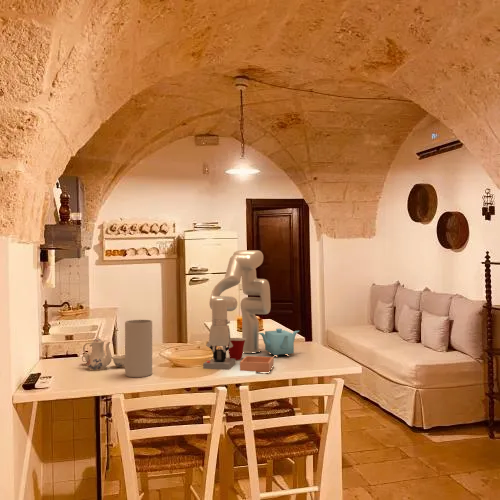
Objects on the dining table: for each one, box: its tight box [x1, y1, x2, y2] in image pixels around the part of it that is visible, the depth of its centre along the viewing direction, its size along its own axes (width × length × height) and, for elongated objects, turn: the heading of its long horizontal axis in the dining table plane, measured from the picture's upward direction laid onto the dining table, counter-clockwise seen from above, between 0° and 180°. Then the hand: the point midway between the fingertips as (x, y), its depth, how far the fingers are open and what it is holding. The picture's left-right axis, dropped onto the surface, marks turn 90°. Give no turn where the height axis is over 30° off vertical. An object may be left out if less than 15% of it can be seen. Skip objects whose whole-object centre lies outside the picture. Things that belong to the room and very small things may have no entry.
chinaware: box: [81, 335, 125, 371], centre depth 244 cm, size 28×17×17 cm, turn 75°
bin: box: [239, 355, 275, 372], centre depth 237 cm, size 14×14×5 cm
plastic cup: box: [227, 337, 246, 361], centre depth 258 cm, size 11×11×12 cm
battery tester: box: [202, 357, 236, 371], centre depth 241 cm, size 13×13×4 cm
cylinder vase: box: [124, 319, 153, 378], centre depth 228 cm, size 12×12×25 cm
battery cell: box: [216, 348, 223, 362], centre depth 241 cm, size 4×4×9 cm
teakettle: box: [259, 328, 300, 356], centre depth 272 cm, size 19×19×15 cm
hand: (219, 359), depth 241 cm, fingers closed on battery cell, 3 cm apart
